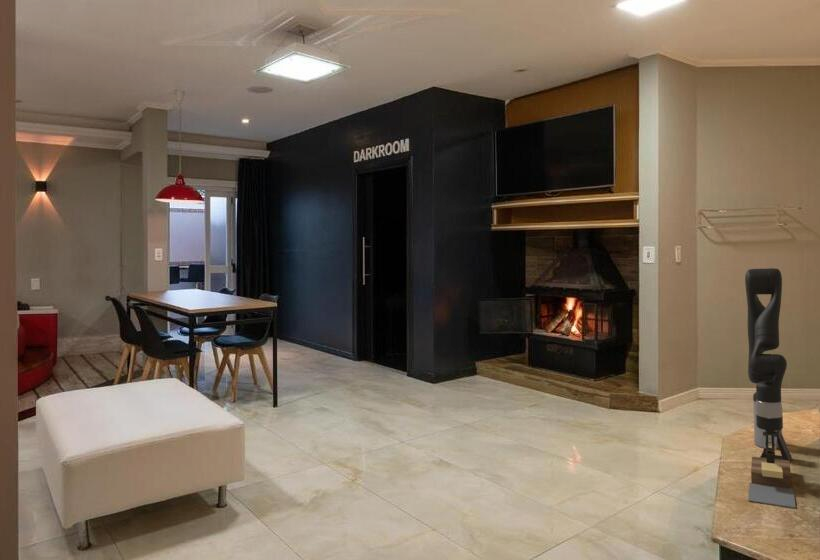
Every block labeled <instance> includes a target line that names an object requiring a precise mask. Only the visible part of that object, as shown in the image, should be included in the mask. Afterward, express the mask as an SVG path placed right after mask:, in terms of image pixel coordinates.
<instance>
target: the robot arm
mask: <svg viewBox="0 0 820 560" xmlns="http://www.w3.org/2000/svg"><path fill="white" fill-rule="evenodd" d="M744 280H745V281H744V283H745V292H746V293H745V294H746V304H747V337H748V338H747V339H748V340H747V341H748V363H747V365H748V366H747V367H748V368H747V375H748V379H749V382H751V383H753V384H756V385H755V392H753V395H752V396H753V397H752V398H753V399H752V401H753V428H754V429H753V431H754V432H753V434H754V435H753V436H754V437H753V438H754V439H753V440H754V445H756V446H757V447H759V448H763V449H764V448H766V450H765V451H766V452H765V453H766V456H767V463H774V456H775V455H776V450H777V449H779V446H778V443H777V433H774V431H776V432H777V431H779V430H781V433H782V434H783V428H784V422H783V421H784V420H783V419H784V418H783V404H782V383H783V380H784V375H785V374H786V370H787V368H788V367H787V366H788V365H787V364H788V363H787V359H786V358H785V357H784V355H782V354H779V353H778V354H777V353H765V352H768V351H773V350H776V349H778V348H779V347H780V327H779V326H780V325H779V324H780V322H779V321H780V315H781V314H780V312H781V306H782V305H781V304H782V296H783V295H782V293H783V292H782V291H783V277H782V272H781V270H780V269H778V268H774V267H773V268H772V267H771V268H750V269H748V270H747V271H746V273H745V277H744ZM758 295H770V300H769V302H768V303H767V305H766V307H765V305H763V303H762V302H761V301H760V300H761V299H759V297H758ZM774 464H775V463H774Z"/></svg>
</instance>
